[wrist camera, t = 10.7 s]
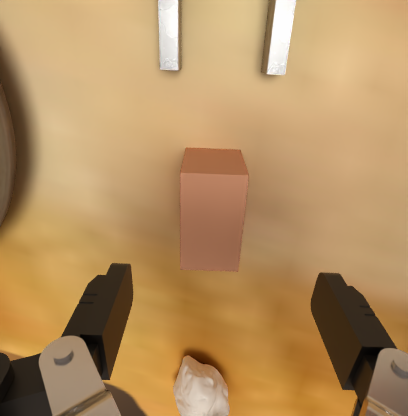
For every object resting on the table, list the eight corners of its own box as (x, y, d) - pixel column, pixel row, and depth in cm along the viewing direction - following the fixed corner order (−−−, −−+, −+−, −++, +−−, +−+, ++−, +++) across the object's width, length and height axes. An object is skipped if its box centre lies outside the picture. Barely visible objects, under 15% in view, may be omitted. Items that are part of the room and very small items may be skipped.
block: (232, 230, 28) (238, 271, 23) (185, 229, 28) (180, 269, 23) (240, 149, 25) (248, 175, 19) (186, 147, 25) (180, 173, 19)
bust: (205, 386, 43) (263, 460, 35) (160, 421, 39) (213, 514, 31) (202, 328, 38) (269, 401, 30) (148, 363, 34) (209, 457, 26)
